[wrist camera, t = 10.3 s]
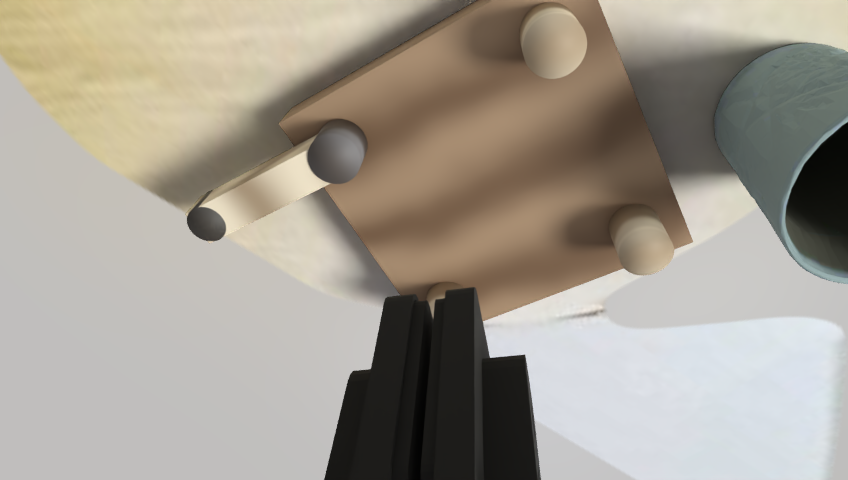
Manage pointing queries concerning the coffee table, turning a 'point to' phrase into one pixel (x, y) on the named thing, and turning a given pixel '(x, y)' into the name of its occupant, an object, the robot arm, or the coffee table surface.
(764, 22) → the coffee table surface
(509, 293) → the stool seat
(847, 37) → the coffee table surface
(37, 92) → the coffee table surface
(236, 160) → the coffee table surface
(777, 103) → the teal cup
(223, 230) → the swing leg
